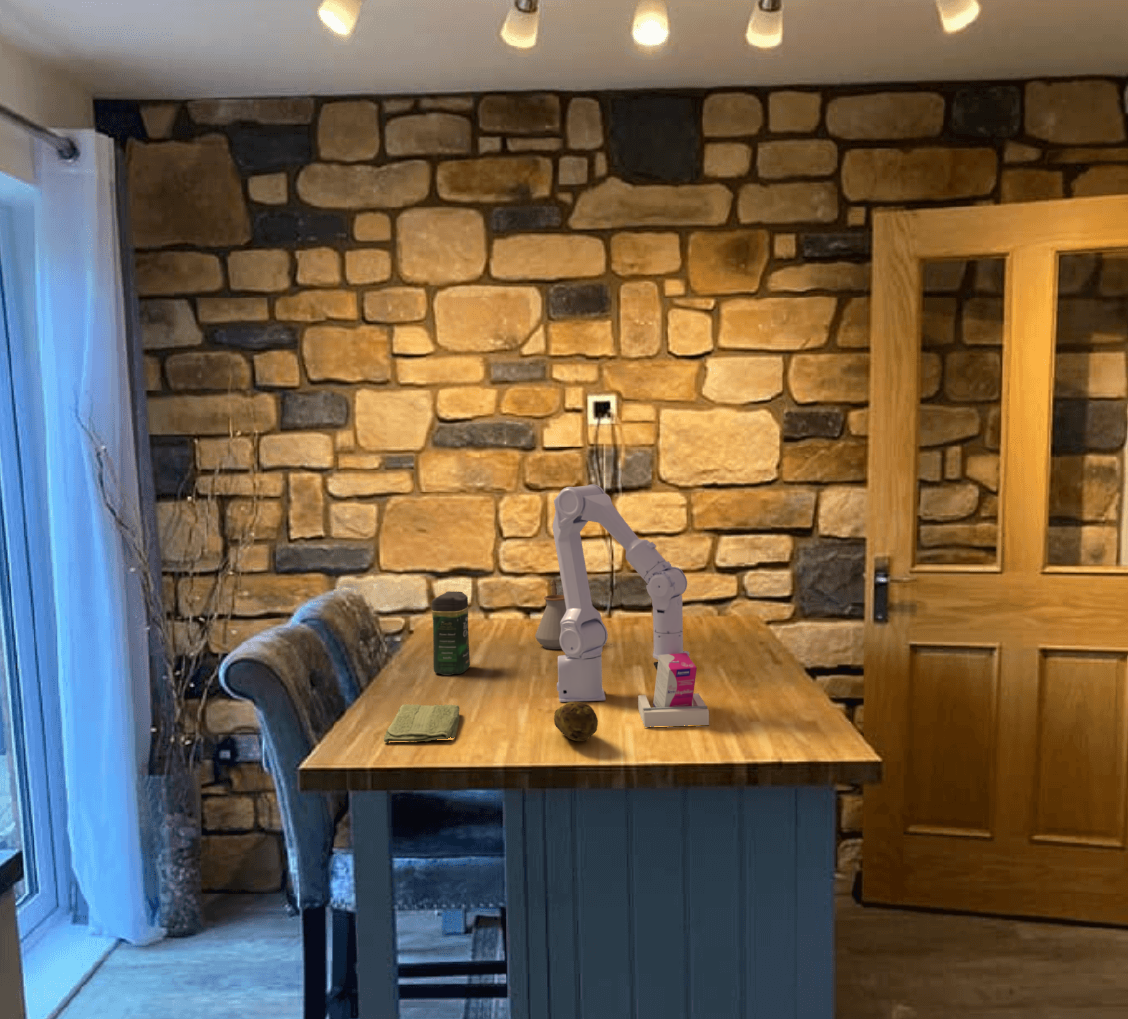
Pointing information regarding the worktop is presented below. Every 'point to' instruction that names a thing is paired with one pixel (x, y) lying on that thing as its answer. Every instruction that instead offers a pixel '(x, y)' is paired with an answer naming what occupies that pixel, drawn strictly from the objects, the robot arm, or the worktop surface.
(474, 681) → the worktop surface
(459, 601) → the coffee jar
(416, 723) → the washcloth
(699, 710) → the dock
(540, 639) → the coffee pot
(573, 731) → the potato
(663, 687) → the supplement box
